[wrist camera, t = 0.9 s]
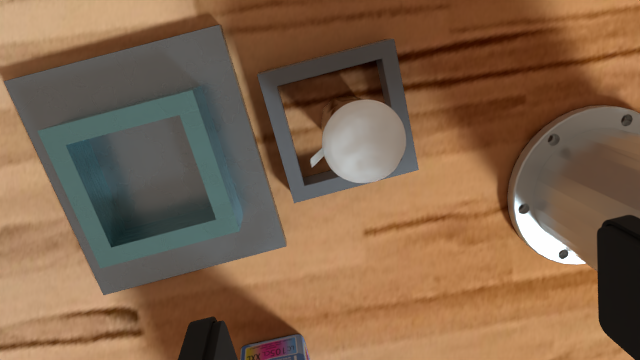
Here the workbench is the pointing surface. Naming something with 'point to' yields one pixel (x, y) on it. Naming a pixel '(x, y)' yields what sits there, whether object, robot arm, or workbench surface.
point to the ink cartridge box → (277, 349)
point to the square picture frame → (324, 64)
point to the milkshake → (360, 139)
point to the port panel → (152, 158)
